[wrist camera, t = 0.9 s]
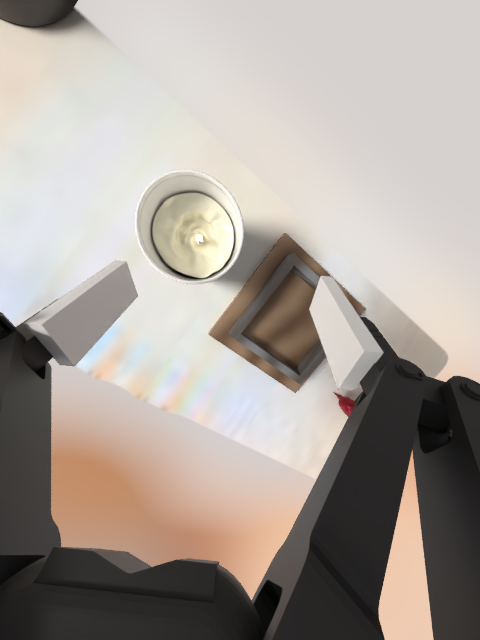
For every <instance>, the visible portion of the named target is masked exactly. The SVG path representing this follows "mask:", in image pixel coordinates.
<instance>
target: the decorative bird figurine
mask: <svg viewBox="0 0 480 640" xmlns="http://www.w3.org/2000/svg"><path fill="white" fill-rule="evenodd" d="M335 395H336V396H337V397H338V398H339V405H340V407H341V409H342V410H343V412H344V413H345V414H346V415H347V416H348V417H349V416H350V414H351V412H352V410H353V408H354V406H355V403H354V401H353V400H352V399H350V398H347V397H341V396H340V395H337V394H336V393H335Z"/></svg>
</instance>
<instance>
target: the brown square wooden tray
mask: <svg viewBox="0 0 480 640" xmlns="http://www.w3.org/2000/svg"><path fill="white" fill-rule="evenodd" d="M320 276H330V275H329V274H328V273H327V272H326V271H325V270H324V269H323V268H322V267H321V266H320V265H319V264H318V263H317V262H316V261H314V260H313V259H312V258H311V257H310V256H309V255H308V254H307V253H306V252H305V251H304V250H303V249H302V248H301V247H300V246H299V245H298V244H297V243H296V242H295V241H293V240H292V239H291V238H290V237H289V236H288V235H287V234H286V233H285V234H283V235H282V237H281V238H280V239H279V241H278V242H277V243H276V245H275V246H274V247H273V249H272V250H271V251H270V253H269V254H268V255H267V257H266V258H265V259H264V261H263V262H262V263H261V264H260V266H259V267H258V268H257V270H256V271H255V272H254V274H253V275H252V276H251V278H250V279H249V280H248V282H247V283H246V284H245V286H244V287H243V288H242V290H241V291H240V292H239V294H238V295H237V296H236V297H235V299H234V300H233V301H232V303H231V304H230V305H229V307H228V308H227V309H226V311H225V312H224V313H223V315H222V316H221V317H220V319H219V320H218V321H217V323H216V324H215V325H214V327H213V328H212V329H211V330H210V332H209V335H210V336H212V337H213V338H215V339H216V340H218V341H219V342H221V343H222V344H223V345H225V346H226V347H228V348H229V349H231V350H232V351H234V352H235V353H237V354H238V355H240V356H241V357H243V358H244V359H246V360H247V361H249V362H250V363H252V364H253V365H255V366H256V367H258V368H259V369H261V370H262V371H264V372H265V373H267V374H268V375H269V376H271V377H272V378H274V379H275V380H277V381H278V382H280V383H281V384H283V385H284V386H286V387H287V388H289V389H290V390H292V391H293V392H295V393H296V392H297V390H298V389H299V388H300V387H301V386H302V384H303V383H304V382H305V381H306V380H307V378H308V377H309V376H310V375H311V374H312V372H313V371H314V370H315V369H316V368H317V366H318V365H319V364H320V363H321V362H322V361H323V359H324V358H325V357H326V354H325V351H324V348H323V346H322V343H321V340H320V338H319V335H318V332H317V329H316V327H315V324H314V321H313V318H312V316H311V313H310V310H309V309H310V306H311V303H312V300H313V297H314V294H315V291H316V288H317V285H318V282H319V279H320ZM336 283H337V284H338V286H339V287H340V289H341V290H342V292H343V293H344V295H345V296H346V298H347V299H348V301H349V302H350V304H351V305H352V306H353V308H354V309H355V311H356V312H357V314H358V315H359V316H360V315H361V314H362V313H363V312H364V310H365V308H364V307H363V306H362V305H361V304H360V303H359V302H357V301H356V300H355V299H354V298H353V297H352V296H351V295H350V294H349V293H348V292H347V291H346V290H345V289H344V288H343V287H342V286H341V285H340V284H339V283H338V282H336Z"/></svg>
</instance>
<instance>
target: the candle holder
mask: <svg viewBox="0 0 480 640" xmlns="http://www.w3.org/2000/svg"><path fill="white" fill-rule="evenodd" d="M135 230H136V236H137V239H138V242H139V245H140V247H141V250H142V252H143V253H144V255H145V257H146V258H147V260H148V261H149V262H150V263H151V264H152V266H153V267H154V268H156V269H157V270H158V271H159V272H160V273H162V274H163V275H165V276H166V277H168V278H170V279H172V280H174V281H177V282H180V283H185V284H204V283H208V282H211V281H214V280H216V279H218V278H220V277H221V276H223V275H224V274H225V273H226V272H228V271H229V270H230V268H231V267H232V266H233V265H234V263H235V262H236V260H237V258H238V257H239V254H240V252H241V249H242V245H243V239H244V225H243V219H242V215H241V212H240V209H239V207H238V205H237V203H236V201H235V199H234V197H233V196H232V195H231V193H230V192H229V191H228V190H227V189H226V188H225V187H224V186H223V185H222V184H221V183H220V182H219V181H217V180H216V179H214V178H213V177H211V176H209V175H207V174H205V173H202V172H199V171H194V170H175V171H171V172H168V173H165V174H163V175H161V176H159V177H158V178H156V179H155V180H154V181H152V182H151V183H150V184H149V185H148V187H147V188H146V189H145V190H144V192H143V193H142V195H141V197H140V199H139V202H138V205H137V208H136V214H135Z"/></svg>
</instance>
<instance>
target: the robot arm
mask: <svg viewBox="0 0 480 640" xmlns="http://www.w3.org/2000/svg"><path fill="white" fill-rule="evenodd" d="M77 1H78V0H0V18H2V19H4V20H6V21H9V22H12V23H16V24H20V25H27V26H41V25H46V24H50V23H53V22H55V21H57V20H59V19H61V18H62V17H64V16H65V15H66V14H68V13H69V12H70V11H71V10H72V8H73V7H74V6H75V4H76V3H77ZM137 297H138V294H137V291H136V288H135V285H134V282H133V280H132V277H131V274H130V271H129V268H128V265H127V262H126V261H114V262H112V263H111V264H109V265H108V266H107V267H105V268H104V269H102V270H101V271H99V272H98V273H96V274H95V275H93V276H92V277H90V278H89V279H87V280H86V281H84V282H83V283H82V284H80V285H79V286H77V287H76V288H74V289H73V290H71V291H70V292H68V293H67V294H65V295H64V296H62V297H61V298H59V299H57V300H55V301H54V302H52V303H51V304H49V306H46V307H45V308H44V309H42V311H39V312H38V313H36V314H35V315H33V316H32V317H30V318H29V319H27V320H26V321H24V322H23V323H21V324H20V325H18V326H17V327H15V326H14V325H13V324H12V323H11V322H10V321H9V320H8V319H7V318H6V317H5V316H4V314H3V313H1V312H0V640H384V636H383V632H382V628H381V625H380V622H379V615H378V607H379V600H380V595H381V591H382V586H383V581H384V577H385V572H386V567H387V563H388V558H389V554H390V549H391V544H392V540H393V535H394V530H395V526H396V521H397V517H398V512H399V507H400V503H401V497H402V493H403V489H404V484H405V480H406V475H407V470H408V466H409V461H410V456H411V452H412V450H413V459H414V468H415V476H416V485H417V494H418V503H419V513H420V522H421V530H422V539H423V548H424V557H425V566H426V575H427V584H428V593H429V602H430V611H431V619H432V629H433V637H434V640H480V384H479V383H477V382H475V381H473V380H471V379H469V378H465V377H461V376H453V377H452V378H450V379H449V380H448V381H447V382H443V381H439V380H437V379H434V378H430V377H427V376H426V375H425V374H424V373H423V371H422V370H421V369H420V368H419V367H417V366H416V365H415V364H413V363H411V362H410V361H407V360H404V359H401V358H399V357H398V356H397V355H396V353H395V352H394V350H393V349H392V348H391V346H390V345H389V344H388V342H387V341H386V340H385V338H383V336H382V334H381V333H380V332H379V330H378V329H377V327H376V326H375V325H374V324H373V323H372V322H371V321H370V320H368V319H367V318H366V317H359V315H358V314H357V312H356V311H355V309H354V308H353V306H352V305H351V304H350V302H349V301H348V299H347V298H346V296H345V295H344V293H343V292H342V290H341V289H340V287H339V286H338V284H337V283H336V281H335V280H334V278H333V277H331V276H320V279H319V282H318V285H317V288H316V291H315V294H314V297H313V300H312V303H311V306H310V309H309V310H310V313H311V316H312V318H313V321H314V324H315V327H316V329H317V332H318V335H319V338H320V340H321V343H322V346H323V348H324V351H325V354H326V357H327V359H328V362H329V365H330V368H331V370H332V373H333V376H334V379H335V381H336V384H337V387H338V389H343V390H355V389H356V387H357V386H358V385H359V384H360V385H361V387H362V389H363V392H362V393H361V394H360V395H359V397H358V398H357V399H356V400H355V401H354V403H355V406H354V408H353V410H352V412H351V414H350V416H349V417H348V419H347V421H346V423H345V425H344V427H343V429H342V431H341V433H340V435H339V437H338V439H337V441H336V443H335V445H334V447H333V449H332V451H331V453H330V455H329V457H328V459H327V461H326V463H325V465H324V466H323V468H322V470H321V472H320V474H319V476H318V478H317V480H316V482H315V484H314V486H313V488H312V490H311V492H310V494H309V496H308V498H307V500H306V502H305V504H304V506H303V508H302V510H301V512H300V514H299V515H298V517H297V519H296V521H295V523H294V525H293V528H292V530H291V531H290V533H289V535H288V537H287V539H286V540H285V542H284V544H283V545H282V546H281V548H280V549H279V550H278V552H277V554H276V555H275V557H274V559H273V561H272V562H271V564H270V566H269V568H268V570H267V572H266V574H265V576H264V578H263V580H262V582H261V583H260V585H259V587H258V589H257V591H256V593H255V595H254V597H253V599H252V601H251V599H250V598H249V596H248V594H247V592H246V591H245V589H244V588H243V586H242V585H241V583H240V582H239V581H238V580H237V579H236V578H235V576H234V575H232V574H231V573H230V572H229V571H228V570H227V569H225V568H223V567H222V566H220V565H219V562H217V561H208V560H198V559H180V560H174V561H171V562H167V563H164V564H161V565H158V566H154V567H151V566H149V565H148V564H146V563H144V562H143V561H141V560H140V559H138V558H136V557H135V556H133V555H131V554H130V553H128V552H124V551H114V550H104V549H92V548H70V547H61V539H60V533H59V529H58V527H57V525H56V524H55V522H54V521H53V519H52V515H51V366H50V364H49V363H48V361H49V360H50V359H51V358H54V359H55V360H56V361H57V362H58V363H59V365H66V366H75V365H76V364H77V363H78V362H79V361H80V360H81V359H82V358H83V357H84V355H85V354H86V353H87V352H88V351H89V350H90V349H91V348H92V347H93V345H94V344H95V343H96V342H97V341H98V340H99V339H100V338H101V337H102V335H103V334H104V333H105V332H106V331H107V330H108V329H109V328H110V327H111V325H112V324H113V323H114V322H115V321H116V320H117V319H118V318H119V317H120V315H121V314H122V313H123V312H124V311H125V310H126V309H127V308H128V307H129V305H130V304H131V303H132V302H133V301H134V300H135V299H136V298H137Z"/></svg>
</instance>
